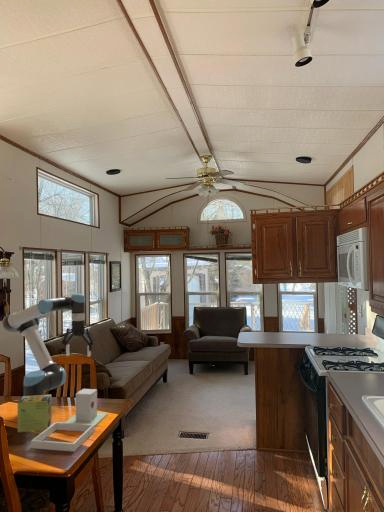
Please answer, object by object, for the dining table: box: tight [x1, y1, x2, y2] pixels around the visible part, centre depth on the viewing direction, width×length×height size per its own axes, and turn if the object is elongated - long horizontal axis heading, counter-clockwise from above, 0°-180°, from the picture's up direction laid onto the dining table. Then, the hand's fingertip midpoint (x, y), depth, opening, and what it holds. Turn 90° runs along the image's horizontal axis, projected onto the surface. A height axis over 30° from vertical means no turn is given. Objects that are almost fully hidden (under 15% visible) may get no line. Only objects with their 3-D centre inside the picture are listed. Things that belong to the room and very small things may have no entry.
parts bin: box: [30, 421, 96, 453], centre depth 192 cm, size 22×22×4 cm
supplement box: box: [75, 388, 98, 422], centre depth 216 cm, size 9×9×15 cm
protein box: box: [17, 394, 53, 433], centre depth 207 cm, size 10×15×16 cm
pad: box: [64, 411, 109, 428], centre depth 215 cm, size 18×18×1 cm
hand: (78, 356), depth 229 cm, fingers open, 13 cm apart
